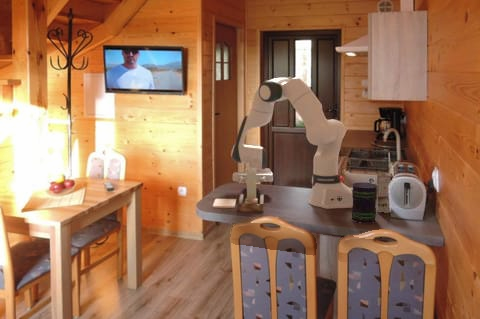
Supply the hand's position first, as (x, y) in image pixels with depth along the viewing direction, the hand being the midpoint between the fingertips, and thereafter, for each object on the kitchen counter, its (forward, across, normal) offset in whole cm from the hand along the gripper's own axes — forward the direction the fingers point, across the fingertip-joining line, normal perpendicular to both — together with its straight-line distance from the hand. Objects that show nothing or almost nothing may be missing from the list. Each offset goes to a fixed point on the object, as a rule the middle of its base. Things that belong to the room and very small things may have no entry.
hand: (252, 180), depth 239 cm
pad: (+12, -13, +9) cm, 19 cm away
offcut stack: (+20, 0, +9) cm, 22 cm away
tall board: (+12, 0, +9) cm, 15 cm away
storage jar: (+35, +47, +9) cm, 59 cm away
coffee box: (+19, +59, +9) cm, 62 cm away
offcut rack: (+15, 0, +9) cm, 17 cm away
